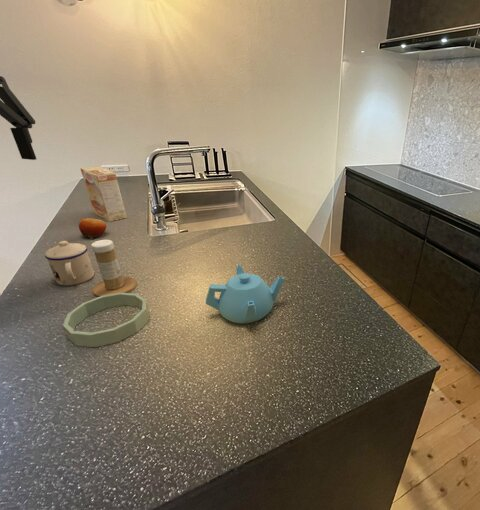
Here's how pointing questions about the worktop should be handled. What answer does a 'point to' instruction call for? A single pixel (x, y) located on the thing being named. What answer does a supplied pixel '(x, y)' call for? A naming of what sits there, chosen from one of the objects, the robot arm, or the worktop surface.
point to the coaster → (126, 288)
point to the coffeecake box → (104, 193)
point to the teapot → (244, 297)
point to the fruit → (92, 227)
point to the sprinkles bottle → (108, 264)
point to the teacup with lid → (70, 263)
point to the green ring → (109, 334)
